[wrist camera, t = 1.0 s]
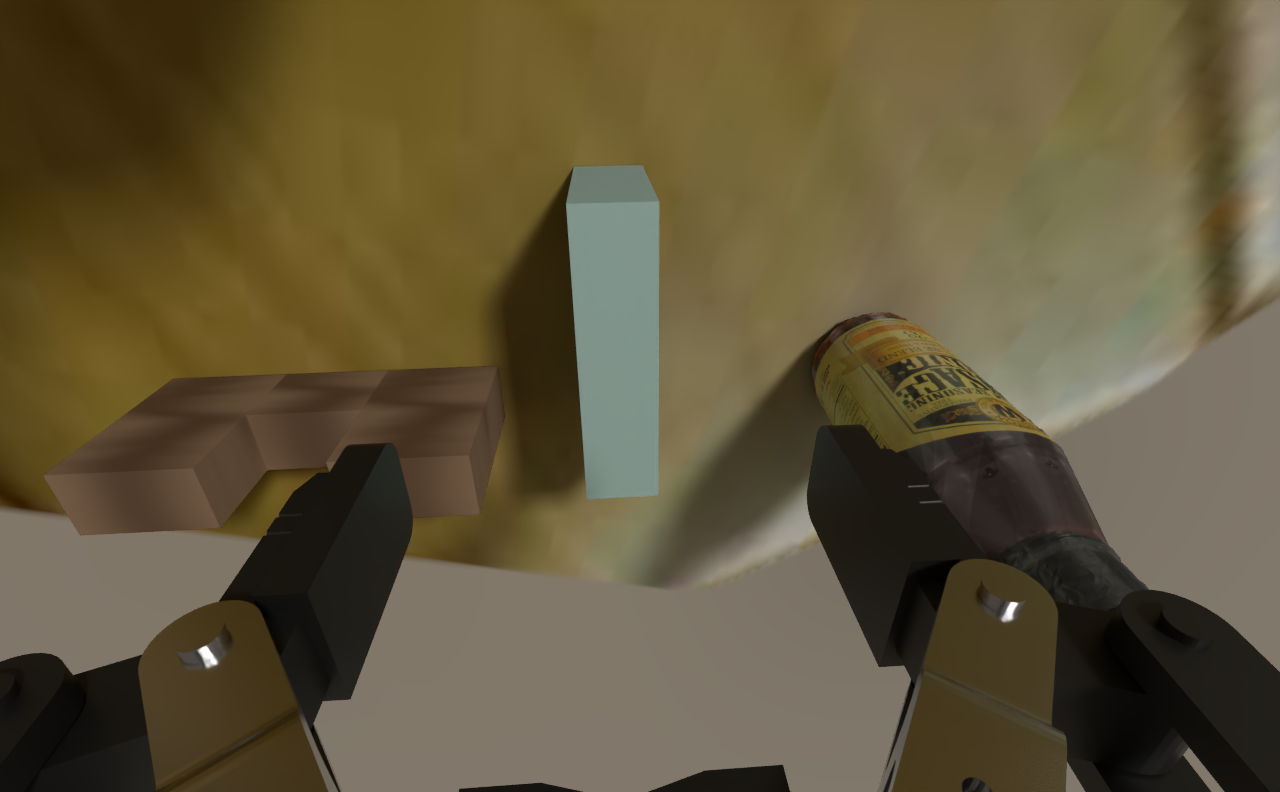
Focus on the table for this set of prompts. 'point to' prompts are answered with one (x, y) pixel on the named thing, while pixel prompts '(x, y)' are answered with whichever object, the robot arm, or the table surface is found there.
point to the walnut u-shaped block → (281, 444)
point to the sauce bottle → (971, 455)
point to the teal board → (616, 326)
